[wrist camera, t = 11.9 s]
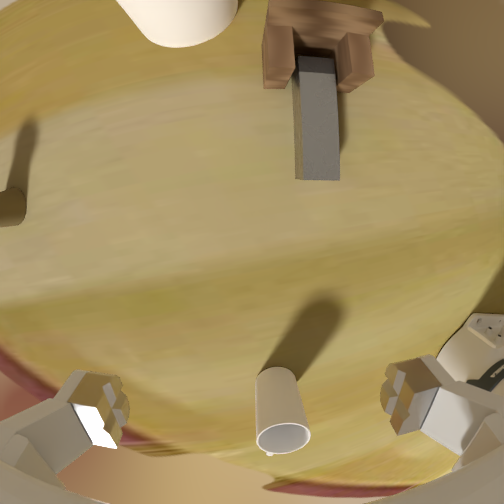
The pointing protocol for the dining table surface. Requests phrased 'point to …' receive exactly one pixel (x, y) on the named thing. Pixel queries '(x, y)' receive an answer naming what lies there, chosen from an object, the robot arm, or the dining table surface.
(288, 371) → the mug
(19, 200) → the cork
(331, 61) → the rectangular grey metal block
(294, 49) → the wooden chair block
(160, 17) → the canister
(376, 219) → the dining table surface
